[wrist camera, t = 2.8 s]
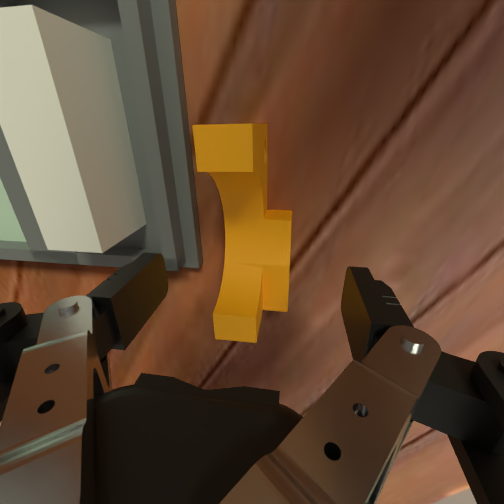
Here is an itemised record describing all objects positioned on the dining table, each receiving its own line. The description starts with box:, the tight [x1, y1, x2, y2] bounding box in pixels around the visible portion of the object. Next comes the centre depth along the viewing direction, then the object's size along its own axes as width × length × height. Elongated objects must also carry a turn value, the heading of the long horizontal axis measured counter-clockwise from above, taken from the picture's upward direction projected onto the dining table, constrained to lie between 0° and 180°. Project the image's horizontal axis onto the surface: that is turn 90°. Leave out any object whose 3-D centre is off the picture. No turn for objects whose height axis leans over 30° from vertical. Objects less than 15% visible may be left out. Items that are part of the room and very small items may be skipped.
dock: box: [0, 0, 203, 271], centre depth 17 cm, size 22×18×6 cm
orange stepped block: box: [192, 123, 292, 343], centre depth 17 cm, size 12×4×6 cm, turn 1°
